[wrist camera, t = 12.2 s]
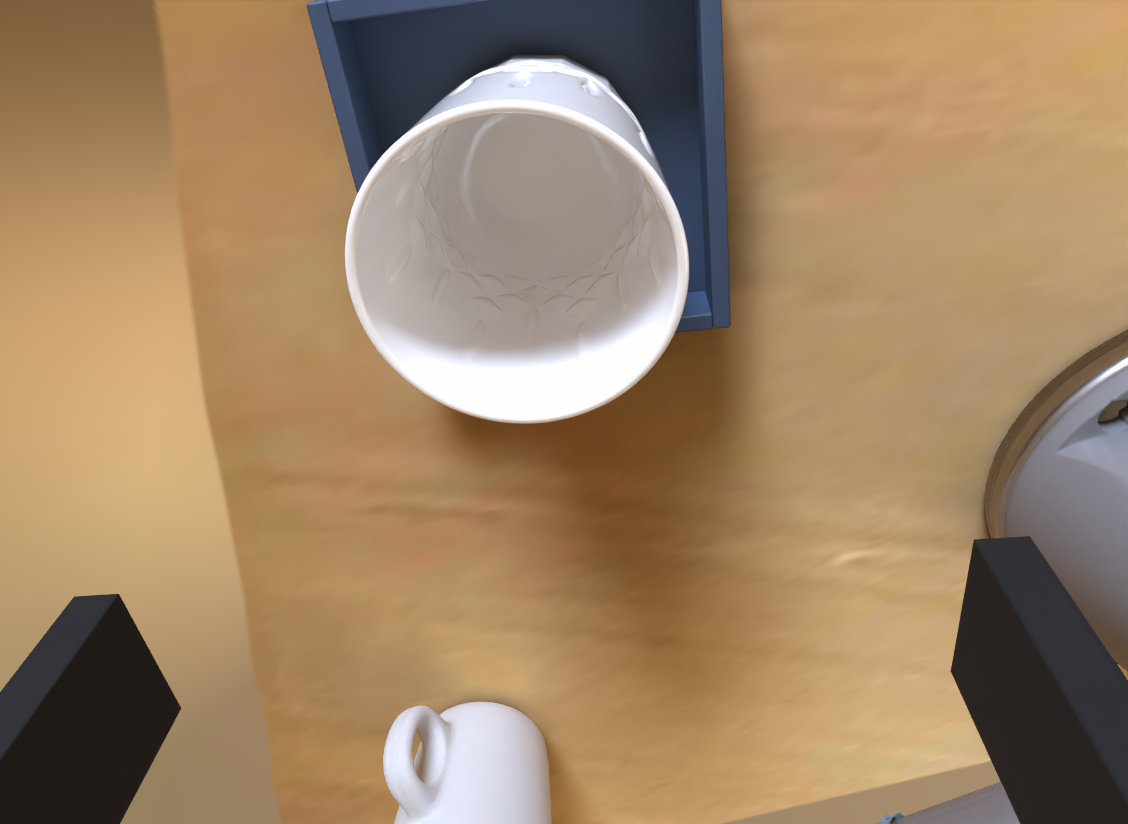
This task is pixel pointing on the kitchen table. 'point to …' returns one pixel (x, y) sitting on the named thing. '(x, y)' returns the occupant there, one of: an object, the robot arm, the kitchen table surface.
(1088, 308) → the kitchen table surface
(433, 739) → the cup
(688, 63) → the tray
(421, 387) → the white cup
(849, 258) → the kitchen table surface
